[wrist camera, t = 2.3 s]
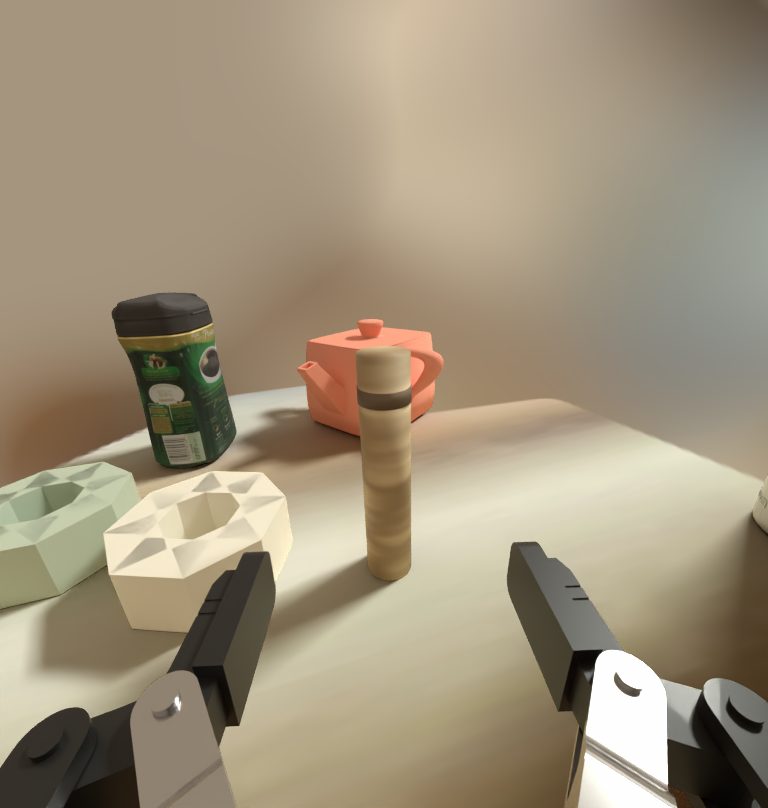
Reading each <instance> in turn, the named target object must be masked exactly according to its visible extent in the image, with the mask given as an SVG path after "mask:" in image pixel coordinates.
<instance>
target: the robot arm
mask: <svg viewBox="0 0 768 808" xmlns="http://www.w3.org/2000/svg"><path fill="white" fill-rule="evenodd" d="M753 517H754V519H755V521H756V522H757V524H758V525H759V526H760V527H761V528H762V529H763V530H764V531H765V532H766V533H768V476H767V478H766V480H765V483H764V485H763V486H762V488H761V490H760V492H759V495H758V499H757V501H756V503H755V506H754V508H753ZM507 586H508V592H509V595H510V598H511V601H512V603H513V605H514V608H515V610H516V612H517V615H518V617H519V620H520V622H521V624H522V627H523V629H524V631H525V634H526V636H527V639H528V641H529V643H530V646H531V648H532V650H533V653H534V655H535V658H536V660H537V662H538V665H539V667H540V669H541V672H542V674H543V677H544V679H545V681H546V684H547V686H548V688H549V691H550V693H551V696H552V698H553V700H554V703H555V705H556V707H557V710H558V712H560V711H573V713H574V715H575V717H576V719H577V722H578V728H577V733H576V739H575V744H574V750H573V756H572V762H571V768H570V774H569V780H568V786H567V792H566V798H565V804H564V808H677V805H676V800H675V798H674V796H673V795H672V794H671V793H669V790H668V786H670V787H673V788H676V789H679V790H682V791H684V793H685V795H686V797H687V799H688V800H689V802H690V804H691V806H692V808H768V703H767V702H766V701H765V700H764V699H763V698H761V697H760V696H759V695H757V694H756V693H754V692H753V691H752V690H750V689H748V688H746V687H745V686H743V685H741V684H739V683H736V682H734V681H731V680H727V679H723V678H713V679H710V680H708V681H707V682H706V683H705V685H704V687H703V689H702V690H699V689H696V688H692V687H689V686H685V685H681V684H678V683H674V682H670V681H667V680H664V679H661V678H659V677H657V676H656V675H655V674H654V673H653V671H652V670H651V669H650V668H649V667H648V666H646V665H645V664H644V663H643V662H641V661H640V660H638V659H637V658H635V657H633V656H631V655H629V654H627V653H625V652H624V650H623V649H622V648H621V646H620V645H619V643H618V642H617V640H616V639H615V637H614V635H613V634H612V632H611V631H610V629H609V628H608V626H607V625H606V623H605V622H604V620H603V619H602V617H601V616H600V614H599V613H598V611H597V610H596V608H595V607H594V605H593V604H592V602H591V601H589V599H588V596H587V595H586V593H585V592H584V590H583V588H581V587H580V584H579V582H578V581H577V579H576V578H575V576H574V575H573V573H572V572H571V570H569V569H568V568H567V567H566V566H565V565H564V564H562V563H561V562H560V561H559V560H558V559H557V558H547V556H546V555H545V553H544V551H543V550H542V548H541V546H540V545H539V544H538V543H537V542H514V543H512V546H511V552H510V559H509V566H508V574H507ZM275 593H276V588H275V581H274V575H273V569H272V563H271V557H270V553H269V552H268V551H261V552H245V553H243V555H242V557H241V559H240V561H239V563H238V566H237V568H236V570H226V571H225V572H224V573H223V574H222V575H221V576H220V577H219V578H218V579H217V580H216V581H215V582H214V583H213V584H212V586H211V588H210V590H209V592H208V594H207V596H206V598H205V601H204V603H203V604H202V606H201V608H200V610H199V612H198V616H196V618H195V620H194V622H193V624H192V626H191V628H190V630H189V632H188V634H187V636H186V638H185V639H184V641H183V643H182V645H181V647H180V649H179V651H178V653H177V655H176V657H175V659H174V661H173V663H172V665H171V667H170V669H169V671H168V672H167V674H166V675H164V676H162V677H160V678H159V679H157V680H156V681H155V682H153V683H152V684H151V685H150V686H149V687H148V688H147V689H146V690H145V691H144V692H143V693H142V695H141V696H140V697H139V699H138V700H137V701H135V702H133V703H131V704H128V705H126V706H123V707H121V708H118V709H115V710H113V711H110V712H107V713H105V714H102V715H99V716H96V717H94V718H90V716H89V714H88V713H87V712H86V710H84V709H82V708H78V707H74V708H67V709H64V710H61V711H59V712H56V713H54V714H52V715H51V716H49V717H47V718H45V719H44V720H43V721H41V722H40V723H38V724H37V725H36V726H35V727H33V728H32V729H31V730H30V731H29V732H28V733H27V734H26V735H25V736H24V737H23V738H22V739H21V740H20V741H19V742H18V744H17V745H16V746H15V748H14V749H13V750H12V752H11V753H10V755H9V756H8V758H7V759H6V760H5V762H4V763H3V765H2V766H1V768H0V808H237V806H236V802H235V799H234V796H233V792H232V789H231V786H230V782H229V779H228V776H227V772H226V769H225V766H224V762H223V759H222V756H221V752H220V749H219V745H220V742H221V739H222V736H223V733H224V730H225V727H227V726H239V725H240V721H241V718H242V715H243V711H244V708H245V704H246V701H247V697H248V694H249V690H250V687H251V683H252V680H253V677H254V673H255V670H256V666H257V663H258V659H259V656H260V652H261V649H262V646H263V642H264V639H265V635H266V632H267V628H268V625H269V621H270V618H271V614H272V611H273V607H274V603H275Z"/></svg>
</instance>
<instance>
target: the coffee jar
mask: <svg viewBox="0 0 768 808" xmlns="http://www.w3.org/2000/svg"><path fill="white" fill-rule="evenodd" d="M112 318H113V319H114V323H115V329H116V333H117V335H118V340H119V342H120V344H121V345H122V347H123V348H124V350H125V352H126V353H127V355H128V357H129V360H130V362H131V365H132V368H133V371H134V374H135V377H136V381H137V385H138V389H139V392H140V396H141V400H142V404H143V408H144V412H145V417H146V421H147V426H148V431H149V435H150V440H151V444H152V447H153V451H154V455H155V458H156V461H157V462H158V463H159V464H161V465H165V466H170V467H174V468H186V467H193V466H196V465H200V464H203V463H207V462H211V461H214V460H215V459H217V458H218V457H219V456H221V455H222V454H223V453H224V452H225V450H226V449H227V448H228V447H229V446H230V444H231V443H232V441H233V440H234V438H235V435H236V427H235V423H234V419H233V415H232V411H231V407H230V404H229V400H228V397H227V393H226V388H225V384H224V380H223V376H222V372H221V368H220V364H219V360H218V355H217V350H216V344H215V336H214V328H213V327H214V326H213V323H212V318H211V314H210V311H209V307H208V305H207V303H206V301H204V300H203V299H201V298H200V297H198V296H197V295H196V294H192V293H157V294H152V295H147V296H142V297H138V298H135V299H130V300H126V301H122V302H120V303H118V304H117V306H116V307H115V308H114V309H113V311H112Z"/></svg>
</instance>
